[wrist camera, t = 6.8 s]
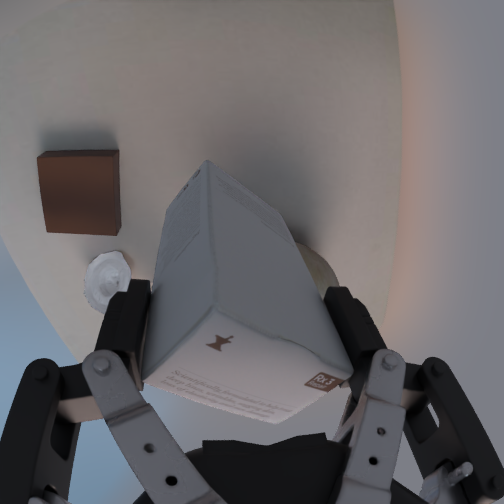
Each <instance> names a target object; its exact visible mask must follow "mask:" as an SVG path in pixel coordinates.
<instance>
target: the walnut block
mask: <svg viewBox="0 0 504 504" xmlns="http://www.w3.org/2000/svg"><path fill="white" fill-rule="evenodd" d="M37 166H38V175H39V184H40V192H41V199H42V206H43V213H44V219H45V225H46V230H47V232H50V233H71V234H90V235H109V236H117V234H118V232H119V230H120V228H121V211H120V187H119V150H72V151H46V152H44V153H43V154H41V155H40V156H38V157H37Z"/></svg>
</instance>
